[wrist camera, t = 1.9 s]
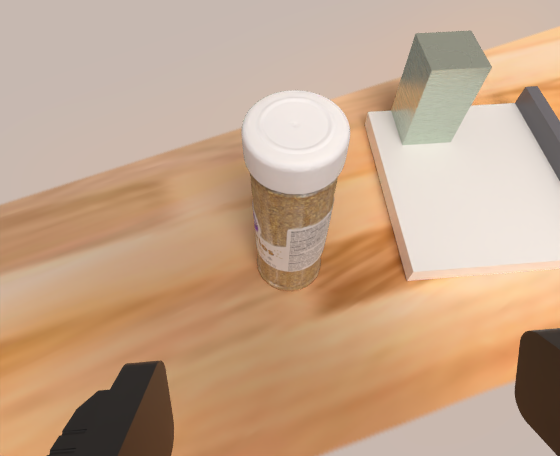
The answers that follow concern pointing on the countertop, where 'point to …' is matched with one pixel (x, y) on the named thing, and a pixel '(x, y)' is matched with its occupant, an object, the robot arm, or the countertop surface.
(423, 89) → the tea tin
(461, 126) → the tray
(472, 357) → the countertop surface
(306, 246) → the spice jar
